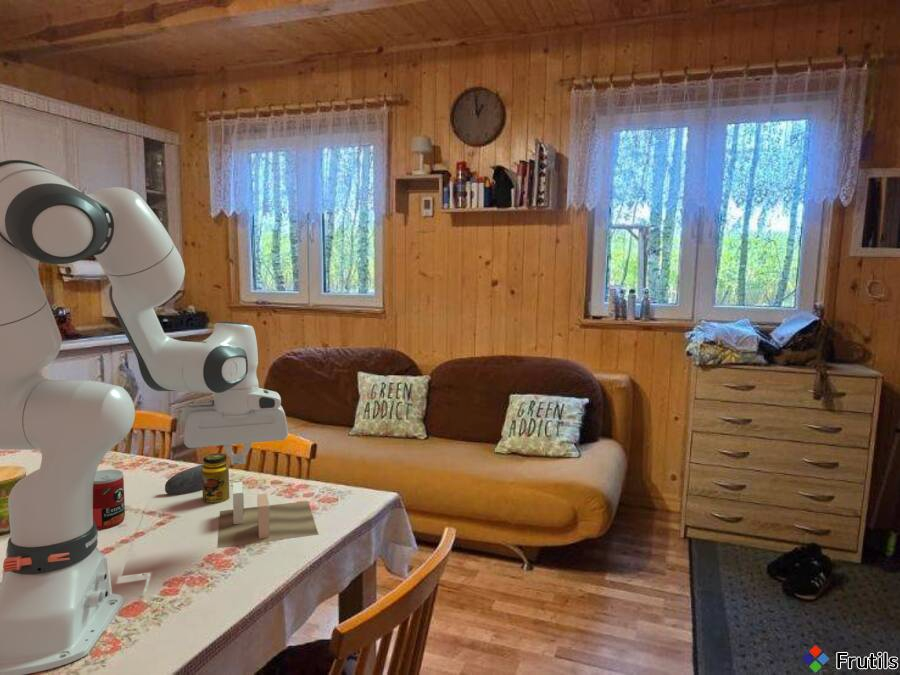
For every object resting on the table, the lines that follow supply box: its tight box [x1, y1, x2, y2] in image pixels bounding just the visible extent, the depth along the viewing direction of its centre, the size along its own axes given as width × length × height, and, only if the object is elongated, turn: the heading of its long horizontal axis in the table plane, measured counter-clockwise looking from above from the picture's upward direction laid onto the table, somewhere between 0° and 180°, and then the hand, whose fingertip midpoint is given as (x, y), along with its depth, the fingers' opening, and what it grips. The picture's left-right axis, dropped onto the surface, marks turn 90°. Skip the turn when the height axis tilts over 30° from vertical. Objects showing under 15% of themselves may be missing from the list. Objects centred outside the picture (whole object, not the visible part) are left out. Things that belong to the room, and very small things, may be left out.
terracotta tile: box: [256, 493, 270, 539], centre depth 124 cm, size 7×2×7 cm, turn 20°
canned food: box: [93, 469, 126, 530], centre depth 129 cm, size 8×8×11 cm
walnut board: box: [217, 500, 319, 549], centre depth 129 cm, size 19×20×1 cm
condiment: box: [201, 452, 230, 505], centre depth 141 cm, size 7×8×12 cm
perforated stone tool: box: [164, 464, 204, 496], centre depth 147 cm, size 15×5×7 cm, turn 131°
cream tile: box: [232, 481, 245, 524], centre depth 130 cm, size 7×2×7 cm, turn 20°
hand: (238, 463), depth 121 cm, fingers closed
